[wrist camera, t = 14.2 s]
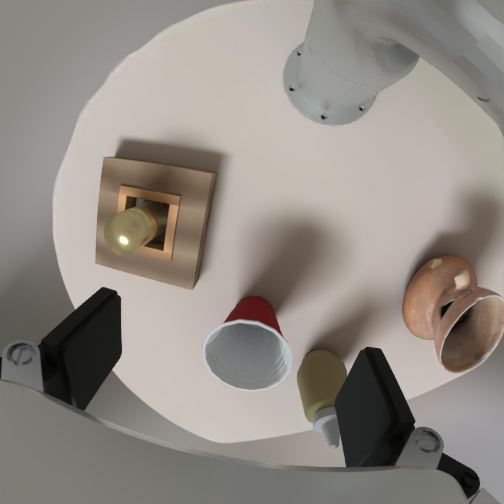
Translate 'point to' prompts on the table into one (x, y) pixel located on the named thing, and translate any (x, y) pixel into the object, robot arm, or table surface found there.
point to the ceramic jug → (453, 313)
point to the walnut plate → (178, 224)
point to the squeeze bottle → (322, 391)
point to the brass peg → (135, 227)
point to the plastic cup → (248, 348)
